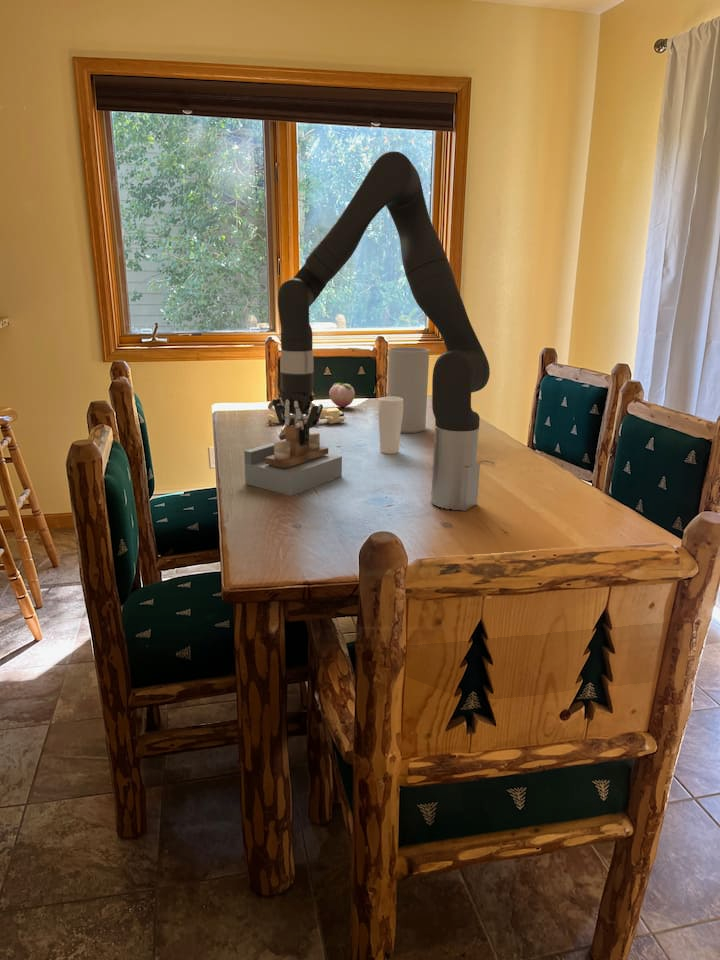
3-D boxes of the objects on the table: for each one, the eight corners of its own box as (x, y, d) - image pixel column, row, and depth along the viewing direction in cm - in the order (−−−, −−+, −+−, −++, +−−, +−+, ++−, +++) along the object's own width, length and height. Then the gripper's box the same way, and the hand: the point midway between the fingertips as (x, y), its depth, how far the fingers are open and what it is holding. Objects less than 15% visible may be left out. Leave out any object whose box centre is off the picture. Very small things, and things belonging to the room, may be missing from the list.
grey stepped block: (341, 476, 168) (342, 444, 165) (291, 495, 153) (291, 461, 150) (297, 466, 175) (297, 435, 173) (245, 483, 160) (244, 450, 158)
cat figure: (269, 431, 217) (347, 424, 220) (266, 404, 214) (345, 397, 217) (269, 424, 226) (344, 417, 229) (266, 398, 224) (342, 391, 226)
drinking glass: (399, 456, 187) (401, 401, 182) (375, 454, 188) (376, 400, 183) (403, 449, 193) (405, 397, 188) (379, 448, 194) (381, 395, 190)
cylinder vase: (432, 432, 214) (436, 351, 207) (395, 434, 210) (398, 352, 202) (414, 423, 225) (418, 346, 218) (379, 426, 221) (382, 347, 213)
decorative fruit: (359, 407, 248) (360, 380, 245) (347, 411, 242) (347, 383, 239) (337, 404, 253) (338, 377, 250) (325, 408, 246) (325, 380, 243)
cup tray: (309, 449, 170) (308, 418, 167) (328, 453, 167) (328, 421, 164) (265, 463, 157) (264, 429, 155) (285, 468, 154) (284, 433, 152)
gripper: (331, 371, 155) (331, 445, 160) (284, 365, 162) (285, 436, 168) (310, 375, 149) (310, 451, 154) (262, 368, 157) (264, 442, 162)
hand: (297, 443), depth 161 cm, fingers closed on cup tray, 3 cm apart
